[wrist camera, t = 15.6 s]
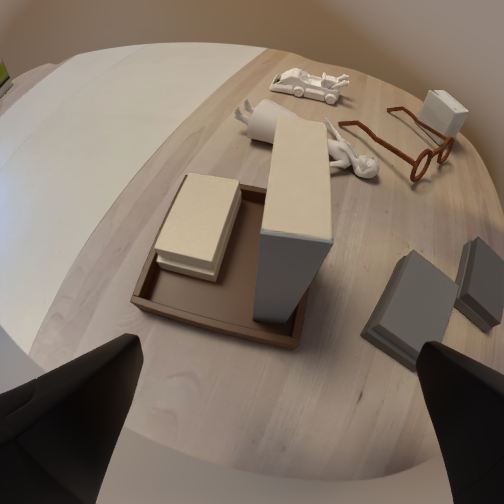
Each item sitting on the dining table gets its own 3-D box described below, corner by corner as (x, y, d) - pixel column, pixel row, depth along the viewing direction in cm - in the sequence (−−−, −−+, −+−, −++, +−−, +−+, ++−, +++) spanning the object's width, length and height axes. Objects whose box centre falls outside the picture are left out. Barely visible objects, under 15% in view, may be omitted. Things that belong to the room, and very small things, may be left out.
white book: (284, 324, 21) (333, 244, 9) (252, 320, 21) (260, 233, 9) (292, 245, 24) (326, 122, 12) (263, 241, 24) (276, 115, 12)
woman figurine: (263, 78, 30) (392, 134, 28) (260, 104, 35) (378, 157, 32) (213, 120, 26) (377, 194, 23) (214, 149, 30) (359, 218, 27)
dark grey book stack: (483, 332, 20) (501, 324, 18) (449, 302, 22) (466, 292, 19) (494, 274, 23) (509, 264, 21) (463, 245, 25) (477, 232, 22)
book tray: (293, 349, 20) (298, 346, 18) (139, 308, 21) (129, 301, 20) (316, 213, 26) (321, 200, 24) (188, 188, 27) (185, 174, 25)
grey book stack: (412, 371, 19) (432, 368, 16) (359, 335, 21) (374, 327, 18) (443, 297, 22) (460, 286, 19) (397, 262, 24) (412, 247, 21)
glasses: (407, 189, 28) (425, 161, 24) (336, 125, 33) (344, 96, 29) (446, 161, 32) (460, 139, 27) (387, 110, 37) (396, 86, 32)
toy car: (275, 77, 39) (277, 56, 35) (344, 92, 38) (349, 71, 34) (267, 92, 37) (268, 68, 33) (344, 108, 35) (350, 86, 32)
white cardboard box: (453, 141, 35) (470, 112, 28) (438, 146, 33) (457, 113, 27) (430, 119, 37) (444, 89, 31) (413, 122, 36) (428, 89, 29)
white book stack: (215, 282, 22) (211, 267, 19) (160, 268, 23) (150, 252, 20) (241, 200, 26) (241, 180, 23) (193, 192, 26) (188, 171, 24)
